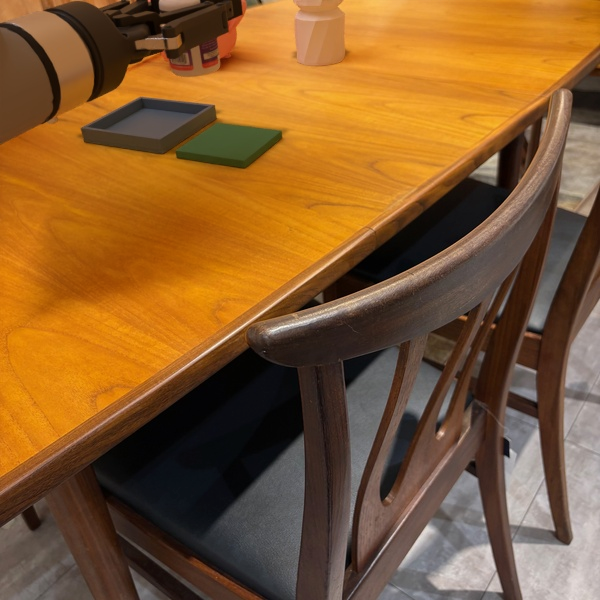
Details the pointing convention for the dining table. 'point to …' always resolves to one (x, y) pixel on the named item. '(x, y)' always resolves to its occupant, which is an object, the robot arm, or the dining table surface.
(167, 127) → the tray
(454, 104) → the dining table surface
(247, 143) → the scouring pad
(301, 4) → the vase
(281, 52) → the dining table surface
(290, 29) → the dining table surface
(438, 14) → the dining table surface
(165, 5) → the pill bottle
